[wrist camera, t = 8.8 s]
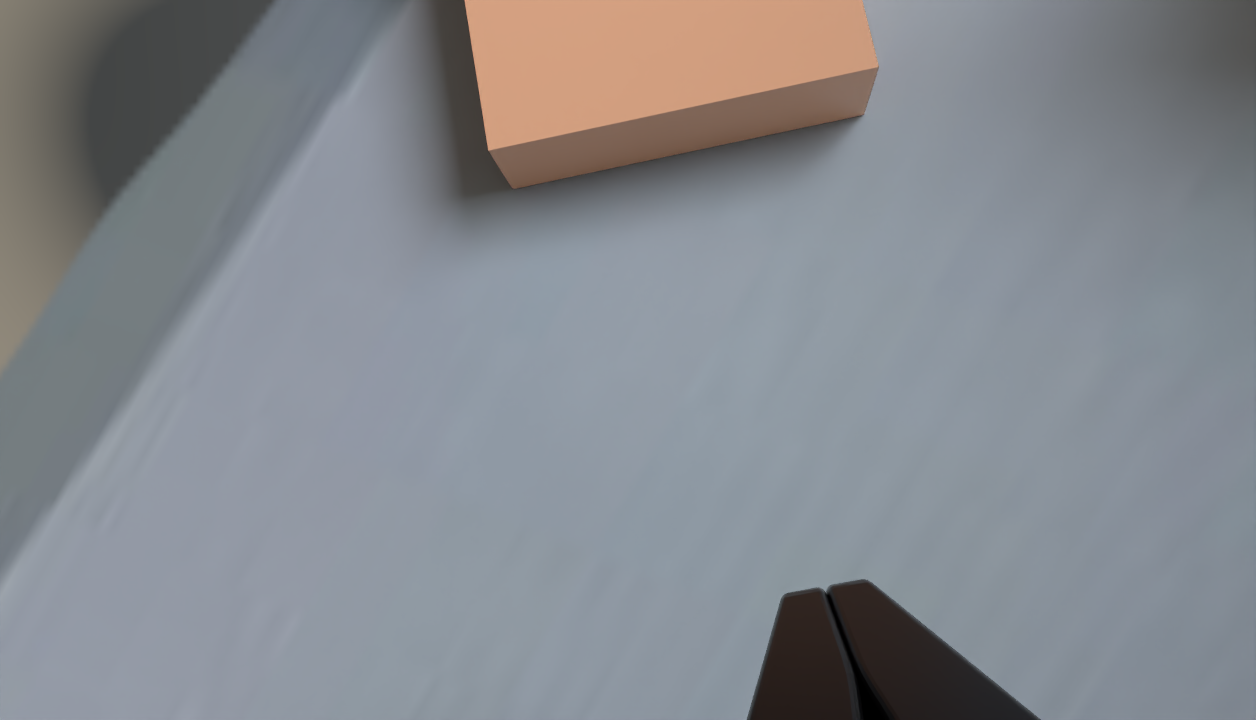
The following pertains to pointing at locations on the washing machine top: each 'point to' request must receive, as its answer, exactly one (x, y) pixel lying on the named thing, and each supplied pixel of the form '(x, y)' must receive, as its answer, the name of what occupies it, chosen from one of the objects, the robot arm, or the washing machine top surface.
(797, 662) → the robot arm
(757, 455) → the washing machine top surface
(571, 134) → the block
